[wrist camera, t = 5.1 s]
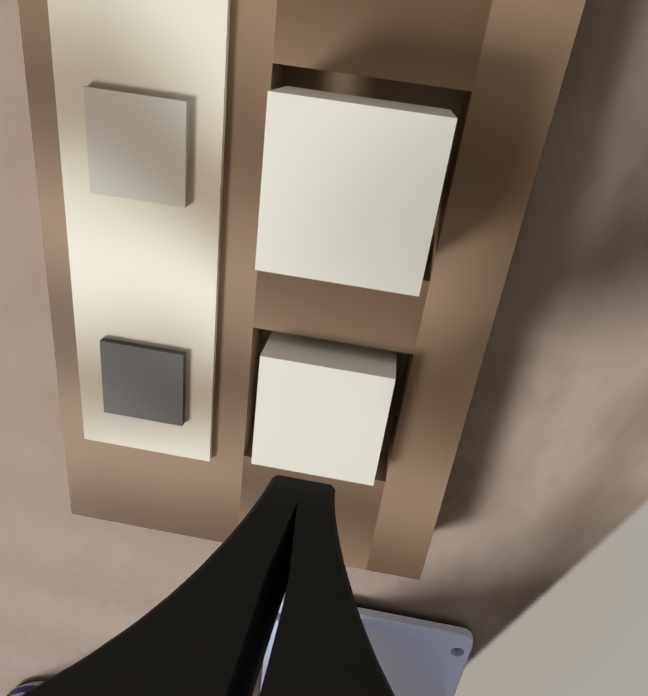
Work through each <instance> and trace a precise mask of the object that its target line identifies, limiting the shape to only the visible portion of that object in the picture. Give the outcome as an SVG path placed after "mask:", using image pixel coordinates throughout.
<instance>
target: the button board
mask: <svg viewBox="0 0 648 696" xmlns="http://www.w3.org/2000/svg"><path fill="white" fill-rule="evenodd" d="M585 2H586V0H18V5H19V15H20V24H21V34H22V43H23V53H24V62H25V72H26V81H27V91H28V100H29V110H30V119H31V129H32V138H33V148H34V157H35V167H36V177H37V186H38V196H39V205H40V215H41V224H42V234H43V243H44V253H45V262H46V272H47V281H48V291H49V300H50V310H51V319H52V329H53V339H54V348H55V358H56V367H57V377H58V386H59V396H60V405H61V415H62V424H63V434H64V443H65V453H66V462H67V472H68V481H69V491H70V501H71V510H72V514H77V515H82V516H87V517H92V518H98V519H103V520H108V521H113V522H119V523H124V524H129V525H134V526H140V527H145V528H150V529H155V530H161V531H166V532H171V533H176V534H182V535H187V536H192V537H197V538H203V539H208V540H213V541H218V542H224V541H225V540H226V539H227V538H228V537H229V536H230V535H231V533H232V532H233V531H234V530H235V529H236V527H237V526H238V525H239V524H240V522H241V521H242V520H243V519H244V518H245V516H246V515H247V514H248V513H249V511H250V510H251V509H252V507H253V506H254V505H255V503H256V502H257V501H258V499H259V498H260V496H261V495H262V493H263V492H264V490H265V489H266V487H267V486H268V484H269V482H270V481H271V479H272V478H273V477H274V476H276V475H282V476H287V477H293V478H298V479H303V480H309V481H314V482H320V483H325V484H330V485H332V486H333V488H334V489H335V515H336V523H337V530H338V536H339V541H340V546H341V551H342V555H343V560H344V564H345V566H349V567H355V568H360V569H365V570H370V571H375V572H381V573H386V574H391V575H396V576H402V577H407V578H412V579H417V580H420V577H421V573H422V570H423V566H424V563H425V559H426V556H427V552H428V549H429V546H430V542H431V539H432V535H433V532H434V528H435V525H436V521H437V518H438V514H439V511H440V507H441V504H442V500H443V497H444V493H445V490H446V486H447V483H448V479H449V476H450V472H451V469H452V465H453V462H454V458H455V455H456V451H457V448H458V444H459V441H460V437H461V434H462V431H463V427H464V424H465V420H466V417H467V413H468V410H469V406H470V403H471V399H472V396H473V392H474V389H475V385H476V382H477V378H478V375H479V371H480V368H481V364H482V361H483V357H484V354H485V350H486V347H487V343H488V340H489V336H490V333H491V329H492V326H493V322H494V319H495V316H496V312H497V309H498V305H499V302H500V298H501V295H502V291H503V288H504V284H505V281H506V277H507V274H508V270H509V267H510V263H511V260H512V256H513V253H514V249H515V246H516V242H517V239H518V235H519V232H520V228H521V225H522V221H523V218H524V214H525V211H526V207H527V204H528V200H529V197H530V194H531V190H532V187H533V183H534V180H535V176H536V173H537V169H538V166H539V162H540V159H541V155H542V152H543V148H544V145H545V141H546V138H547V134H548V131H549V127H550V124H551V120H552V117H553V113H554V110H555V106H556V103H557V99H558V96H559V92H560V89H561V85H562V82H563V79H564V75H565V72H566V68H567V65H568V61H569V58H570V54H571V51H572V47H573V44H574V40H575V37H576V33H577V30H578V26H579V23H580V19H581V16H582V12H583V9H584V5H585ZM285 86H291V87H298V88H305V89H312V90H319V91H326V92H333V93H340V94H347V95H353V96H360V97H367V98H374V99H381V100H388V101H395V102H402V103H409V104H416V105H423V106H430V107H437V108H443V109H450V110H451V111H452V112H453V113H454V115H455V116H456V117H457V123H456V128H455V132H454V137H453V141H452V146H451V151H450V155H449V160H448V165H447V169H446V174H445V179H444V183H443V188H442V192H441V197H440V202H439V206H438V211H437V216H436V220H435V225H434V229H433V234H432V239H431V243H430V248H429V253H428V257H427V262H426V267H425V271H424V276H423V280H422V285H421V290H420V294H419V297H418V296H412V295H406V294H400V293H393V292H387V291H381V290H375V289H369V288H363V287H357V286H350V285H344V284H338V283H332V282H326V281H320V280H314V279H308V278H301V277H295V276H289V275H283V274H277V273H271V272H265V271H259V270H255V261H256V247H257V233H258V219H259V205H260V191H261V177H262V163H263V149H264V135H265V121H266V108H267V94H268V91H269V90H273V89H277V88H281V87H285ZM272 331H277V332H283V333H289V334H295V335H300V336H306V337H312V338H318V339H324V340H330V341H336V342H342V343H348V344H354V345H360V346H366V347H371V348H377V349H383V350H389V351H395V352H397V358H396V380H395V385H394V390H393V395H392V399H391V404H390V409H389V414H388V418H387V423H386V428H385V433H384V437H383V442H382V447H381V452H380V456H379V461H378V466H377V471H376V475H375V480H374V485H373V486H371V485H366V484H360V483H355V482H349V481H344V480H338V479H333V478H327V477H322V476H316V475H311V474H305V473H300V472H294V471H289V470H283V469H278V468H273V467H267V466H262V465H256V464H251V459H252V447H253V435H254V423H255V410H256V398H257V386H258V374H259V362H260V355H261V353H262V351H263V349H264V347H265V345H266V343H267V340H268V338H269V336H270V334H271V332H272Z"/></svg>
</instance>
